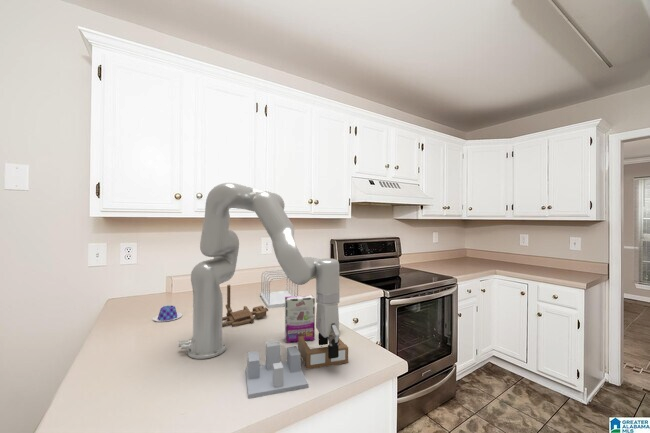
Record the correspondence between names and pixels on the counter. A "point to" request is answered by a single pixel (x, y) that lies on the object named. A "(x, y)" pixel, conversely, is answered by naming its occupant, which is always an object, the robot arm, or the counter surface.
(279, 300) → the file sorter
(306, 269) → the robot arm
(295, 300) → the candy bar box
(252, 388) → the grey post plate
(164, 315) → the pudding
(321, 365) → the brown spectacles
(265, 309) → the wooden figure
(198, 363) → the counter surface
